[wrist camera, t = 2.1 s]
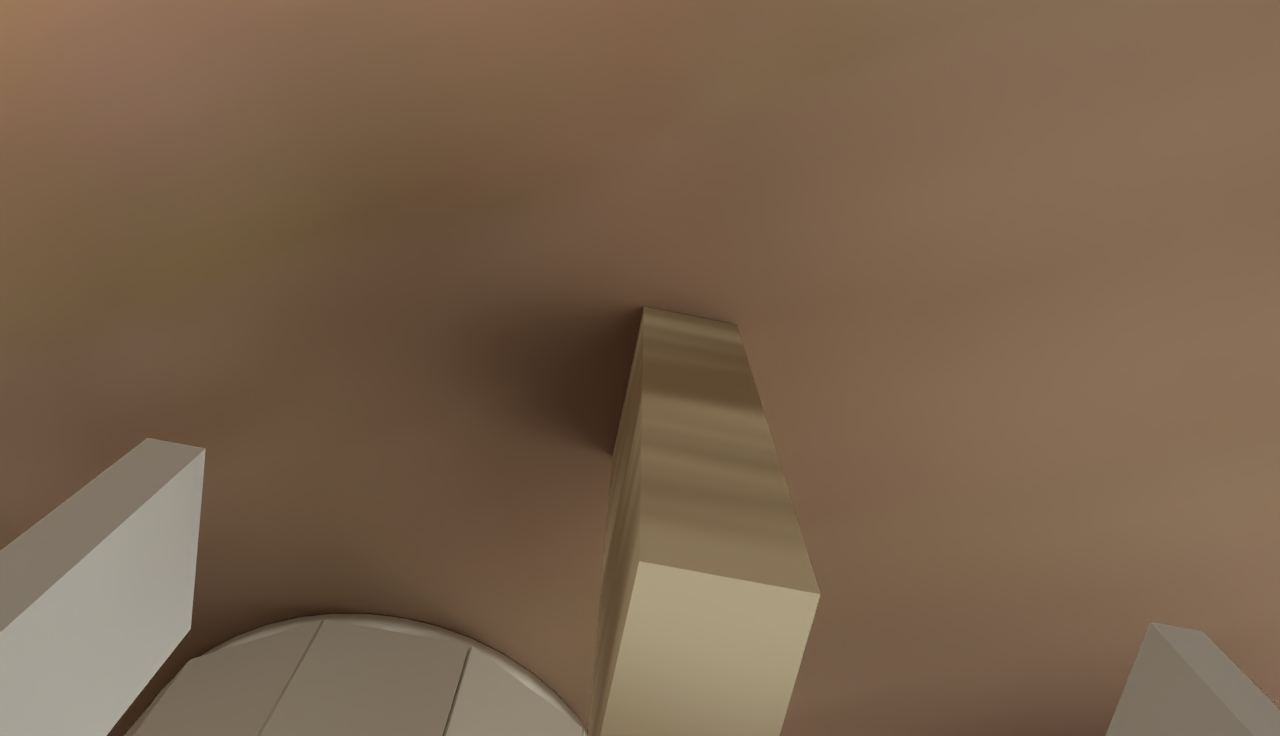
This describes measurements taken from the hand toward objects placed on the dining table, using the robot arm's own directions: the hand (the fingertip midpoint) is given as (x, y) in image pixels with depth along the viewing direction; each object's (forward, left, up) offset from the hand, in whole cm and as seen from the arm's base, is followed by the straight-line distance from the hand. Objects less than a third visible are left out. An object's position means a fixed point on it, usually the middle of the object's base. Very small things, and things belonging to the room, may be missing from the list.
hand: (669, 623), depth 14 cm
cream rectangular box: (0, 0, -9) cm, 9 cm away
